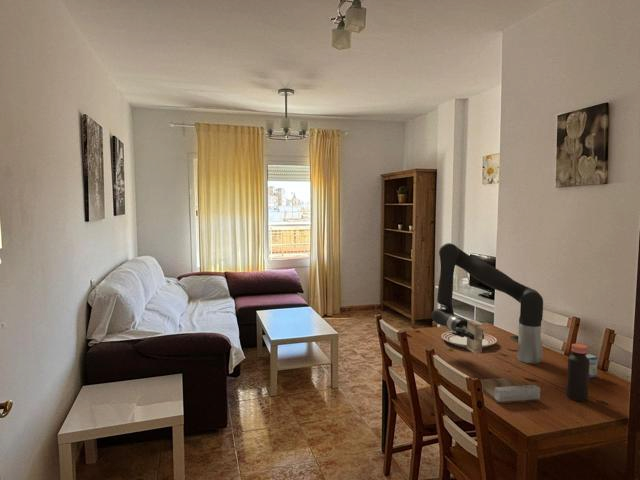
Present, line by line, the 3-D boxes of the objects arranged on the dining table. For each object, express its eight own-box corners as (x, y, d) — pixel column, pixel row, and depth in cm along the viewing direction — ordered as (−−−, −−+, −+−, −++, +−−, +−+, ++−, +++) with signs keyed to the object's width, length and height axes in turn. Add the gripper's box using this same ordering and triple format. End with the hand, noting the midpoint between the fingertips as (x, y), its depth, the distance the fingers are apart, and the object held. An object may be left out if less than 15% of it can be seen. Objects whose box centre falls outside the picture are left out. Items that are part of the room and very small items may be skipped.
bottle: (578, 393, 156) (580, 342, 155) (592, 401, 150) (595, 348, 148) (562, 394, 155) (564, 343, 154) (575, 402, 149) (578, 349, 147)
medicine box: (582, 379, 170) (583, 358, 169) (573, 375, 174) (573, 355, 173) (597, 377, 172) (598, 357, 171) (587, 373, 176) (588, 353, 176)
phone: (525, 345, 210) (509, 336, 225) (525, 347, 210) (509, 338, 225) (539, 344, 211) (522, 335, 226) (539, 347, 211) (522, 337, 226)
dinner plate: (430, 338, 224) (431, 332, 224) (469, 332, 235) (469, 327, 234) (466, 355, 199) (467, 348, 198) (508, 347, 209) (508, 341, 209)
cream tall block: (474, 347, 174) (475, 320, 174) (481, 352, 169) (482, 324, 168) (466, 348, 174) (467, 320, 173) (473, 353, 168) (474, 324, 167)
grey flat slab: (508, 380, 168) (508, 377, 168) (537, 400, 150) (537, 397, 150) (472, 382, 166) (472, 380, 166) (497, 403, 148) (497, 400, 148)
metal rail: (534, 395, 152) (534, 384, 152) (539, 398, 149) (540, 388, 149) (494, 398, 150) (494, 387, 150) (499, 401, 147) (499, 391, 147)
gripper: (443, 318, 184) (462, 329, 167) (473, 316, 186) (494, 327, 169) (443, 334, 184) (461, 347, 167) (473, 333, 186) (494, 345, 169)
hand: (478, 337), depth 168 cm, fingers closed on cream tall block, 3 cm apart
